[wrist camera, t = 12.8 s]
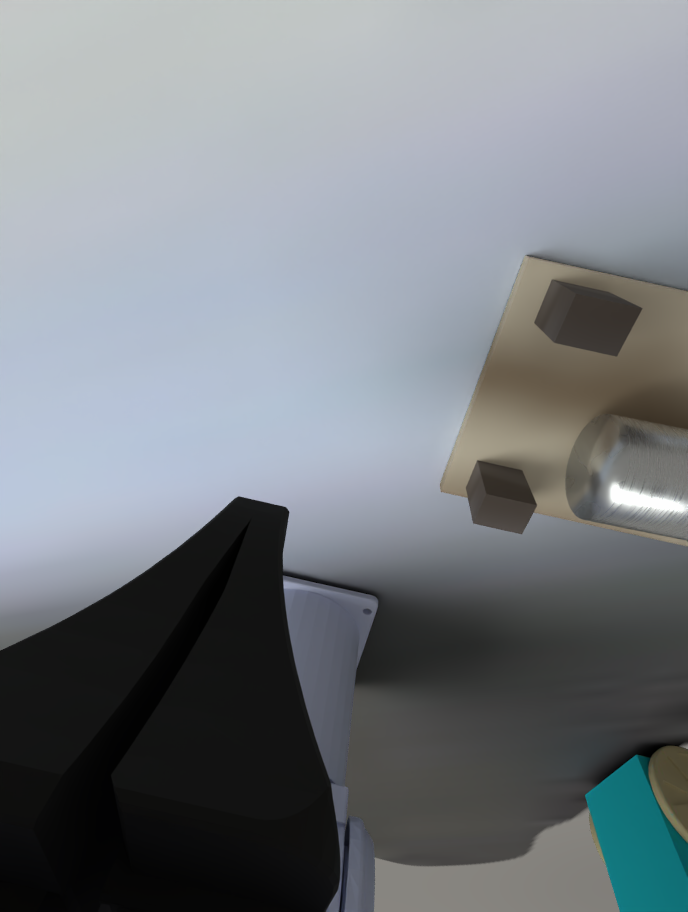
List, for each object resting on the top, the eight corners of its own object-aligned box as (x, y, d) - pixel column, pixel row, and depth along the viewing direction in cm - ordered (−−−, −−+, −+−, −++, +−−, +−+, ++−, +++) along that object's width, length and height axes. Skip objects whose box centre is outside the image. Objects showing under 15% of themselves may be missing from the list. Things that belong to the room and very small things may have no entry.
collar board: (732, 549, 20) (790, 612, 17) (439, 484, 21) (446, 535, 17) (918, 342, 15) (1048, 379, 12) (525, 255, 15) (555, 270, 12)
